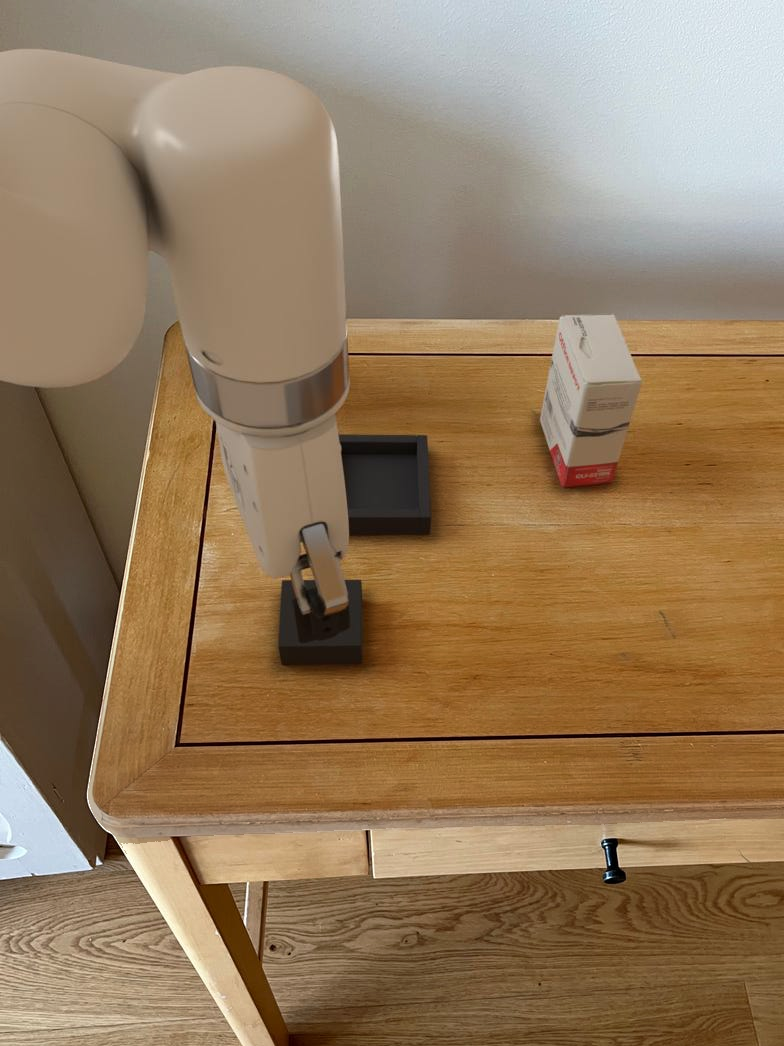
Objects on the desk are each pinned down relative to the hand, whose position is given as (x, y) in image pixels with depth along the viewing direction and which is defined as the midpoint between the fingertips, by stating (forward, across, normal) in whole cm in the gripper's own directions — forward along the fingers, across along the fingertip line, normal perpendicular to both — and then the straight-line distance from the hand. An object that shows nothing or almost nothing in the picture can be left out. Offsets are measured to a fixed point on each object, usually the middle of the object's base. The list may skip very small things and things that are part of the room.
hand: (299, 572), depth 60 cm
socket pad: (+13, -16, +10) cm, 23 cm away
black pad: (+13, -4, +2) cm, 14 cm away
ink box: (+13, -14, +29) cm, 35 cm away
